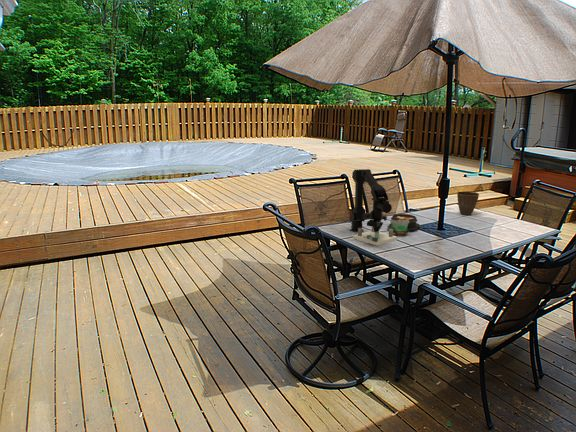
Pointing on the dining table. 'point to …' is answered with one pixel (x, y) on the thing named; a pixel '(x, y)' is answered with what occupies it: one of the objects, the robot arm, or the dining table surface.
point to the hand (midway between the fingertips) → (376, 234)
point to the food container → (399, 227)
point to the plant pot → (467, 202)
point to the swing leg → (373, 237)
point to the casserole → (412, 219)
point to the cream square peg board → (382, 238)
